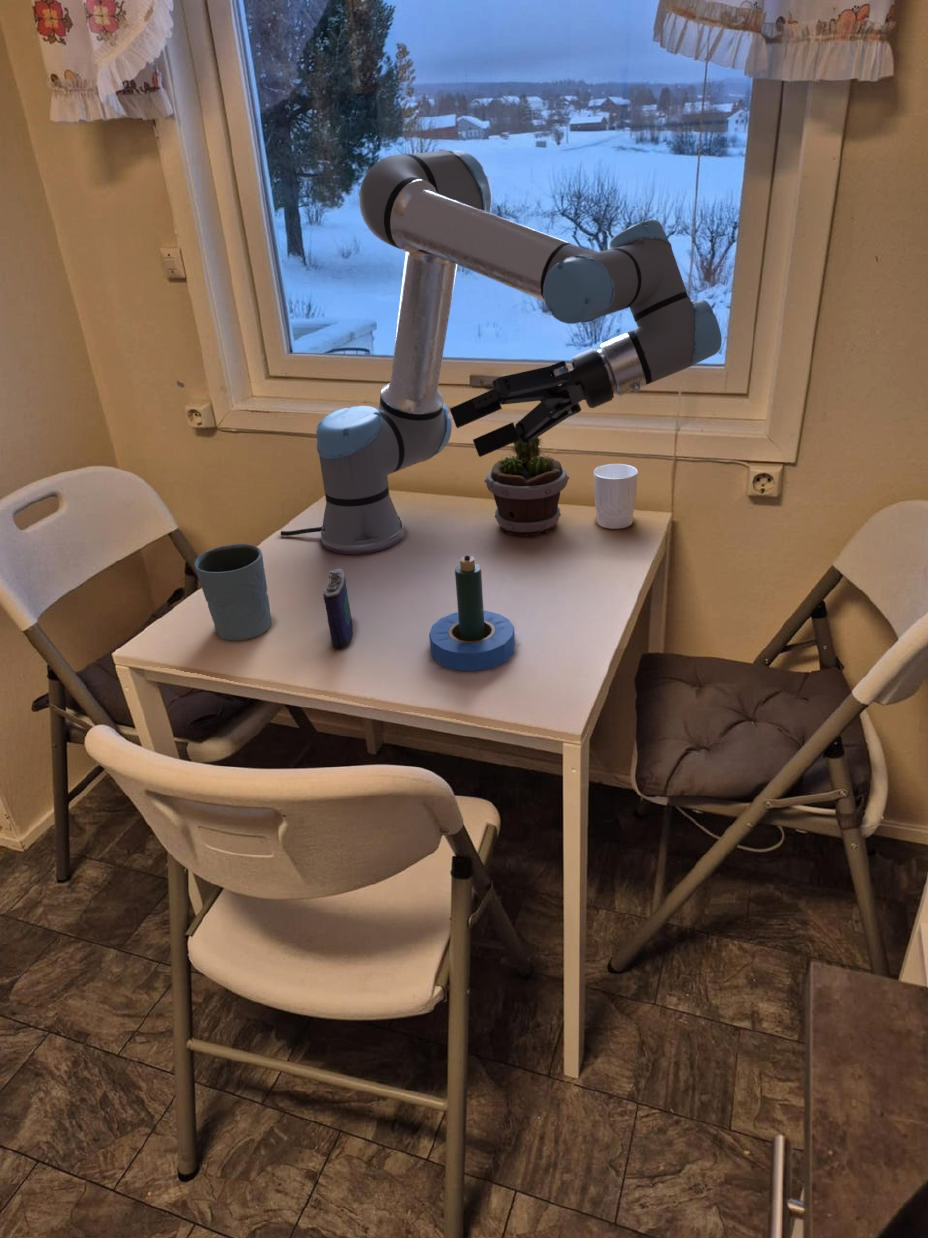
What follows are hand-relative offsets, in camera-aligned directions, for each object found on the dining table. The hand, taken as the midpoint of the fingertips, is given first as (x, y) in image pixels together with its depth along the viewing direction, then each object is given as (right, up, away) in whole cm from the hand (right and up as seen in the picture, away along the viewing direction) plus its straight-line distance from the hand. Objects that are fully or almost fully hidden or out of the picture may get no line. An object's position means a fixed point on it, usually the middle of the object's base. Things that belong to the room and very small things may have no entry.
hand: (465, 434), depth 122 cm
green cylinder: (+1, -31, +2) cm, 31 cm away
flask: (-18, -29, +8) cm, 35 cm away
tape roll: (+1, -31, +2) cm, 31 cm away
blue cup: (-35, -28, +12) cm, 46 cm away
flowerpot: (+12, -9, +39) cm, 42 cm away
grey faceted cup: (+28, -8, +38) cm, 48 cm away
